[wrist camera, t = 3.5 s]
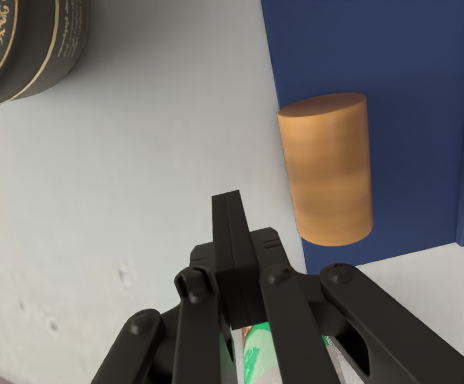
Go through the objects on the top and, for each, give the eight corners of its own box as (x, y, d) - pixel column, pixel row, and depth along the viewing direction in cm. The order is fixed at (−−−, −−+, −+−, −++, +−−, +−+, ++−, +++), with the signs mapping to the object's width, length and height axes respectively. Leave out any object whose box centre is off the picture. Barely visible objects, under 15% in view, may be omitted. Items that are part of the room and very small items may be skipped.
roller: (289, 100, 20) (265, 121, 17) (369, 87, 18) (362, 109, 14) (306, 206, 24) (288, 243, 20) (375, 206, 21) (371, 249, 18)
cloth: (253, -45, 17) (255, -51, 16) (513, -115, 16) (532, -126, 15) (307, 275, 26) (311, 283, 25) (476, 234, 25) (486, 241, 24)
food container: (219, 270, 25) (226, 396, 16) (296, 260, 25) (347, 378, 16) (236, 374, 30) (248, 515, 21) (299, 365, 30) (340, 501, 21)
